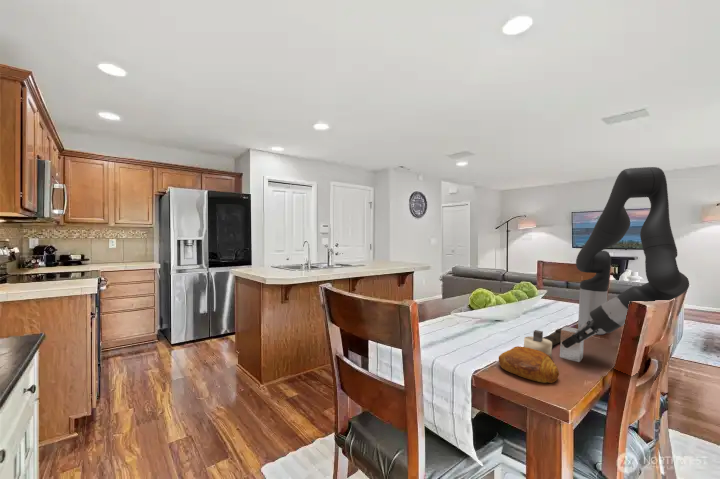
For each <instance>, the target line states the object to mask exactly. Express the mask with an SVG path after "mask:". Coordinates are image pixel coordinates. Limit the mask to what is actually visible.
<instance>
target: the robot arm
mask: <svg viewBox="0 0 720 479" xmlns="http://www.w3.org/2000/svg"><path fill="white" fill-rule="evenodd" d="M667 183H668V182H667V177H666V174H665V172H664V171H663V169H662V168H660V167H657V166H648V167H646V166H645V167H644V166H643V167H629V168H625V169H623V170H621V171H620V172H619V173H618V175H617V176H616V179H615V182H614V184H613V187H612V189H611V192H610V195H609V197H608V200H607V202H606V205H605V207H604V208H603V211H602V212H601V214H600V216H599V217H598V219H597V221H596V223H595V225H594V227H593V230H592V232H591V234H590V235H589V237H588V239H587V240H586V242H585V243H584V245H583V246H582V248H580V250H579V252H578V254H577V255H576V261H575V266H576V269H577V270H578V271H580V272H581V273H589V274H595V275H594V276H592V277H591V278H588V279H585V280H582V281H580V283H579V301H578V322H577V323H578V325H577V328H576V329H577V330H576V333H575V334H572V336H571V337H569V338H567V339H566V340H564V341H563V342H562V344H563V345H564V346H565V348H569V347H570V346H572V345H574V344H575V343H580V342H581V341H583V340H584V341H585V340H587V339H589V338H591V337H592V336H595V335H605V334H611V333H613V332H614V331H616V330H618V329H619V328H622V327H623V326H625V325H626V324H625V319H626V315H627V310H628V304H629V301H655V300H669V301H671V300H674V299H676V298H678V297H680V296H682V295H684V293H686V292H687V290H688V289H689V287H690V280H689V278H688V276H686V275H685V274H684V273H682V272H680V270H679V267H678V264H677V260H676V258H677V257H678V248H677V244H676V241H675V239H674V235H673V231H672V227H671V221H670V207H669V206H670V203H669V192H668V184H667ZM631 198H632V199H634V198H635V199H638V198H648V200H649V203H650V210H649V211H648V215H647V216H646V218H645V219H644V222H643V224H642V226H641V229H640V232H639V233H640V235H639V236H640V237H639V238H640V242H641V246H642V250H643V254H644V256H645V262H644V263H645V264H644V266H645V276H646V280H647V282H646V283H644V284H642V285H640V286H632V287H629V288H627V289H626V290H624V291H623V292H621V293H620V294H618V295H617V296H615V297H613V298H610V299H609V300H608V288H609V285H610V277H611V276H610V274H611V266H612V258H611V254H610V252H609V251H606V249H608V248H609V247H612V246H614V245H616V244H617V243H619V242H620V241H621V240H622V239H624V236H626V234H627V232H628V230H630V226H631V219H630V217H629V214H628V212H627V210H626V208H625V204H626V203H627V201H629V199H631ZM624 324H625V325H624ZM578 334H579V335H580V336H581V338H580V339H579V338H578V337H577V336H576V335H578Z"/></svg>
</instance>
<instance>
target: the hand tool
mask: <svg viewBox="0 0 720 479" xmlns="http://www.w3.org/2000/svg"><path fill="white" fill-rule="evenodd" d="M562 328H563V327H561V328H557V329H555V330H554V331H555V332H554V333H552V334H550V335H548V336H545V337H544V338H545V339H548V340H550V341H551V342H552V347H553V346H555V345H557V344H560V340H561V329H562Z"/></svg>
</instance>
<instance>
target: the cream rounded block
mask: <svg viewBox="0 0 720 479" xmlns="http://www.w3.org/2000/svg"><path fill="white" fill-rule="evenodd" d="M532 335H533V336H525V337H524V340H523V341H524V342H523V343H524V344H523V347H527V348H532V349H535V350H539V351H542V352H544V353H546V354H547V355H549V356H550V357H551V359H552V356H553V354H552V352H553V350H552V349H553V346H552V342H551V341H550V340H548V339H545V337H543V336H544V331H543V330H538V329H534V330H533V332H532Z"/></svg>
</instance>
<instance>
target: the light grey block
mask: <svg viewBox="0 0 720 479" xmlns="http://www.w3.org/2000/svg"><path fill="white" fill-rule="evenodd" d="M561 328H562V329H561V340H560V342H559V358H562V359H564V360H565V359H566V360H569V361H573V362H576V363H577V362H578V363H580V362H581V361H582V359H583V358H584V345H585V344H584V343H585V342H584V341H585V340H583V341H581V342H580V343H575V344H574V345H572V346H570V347H569V348H565V346H564V345H563V344H562V342H563V341H564V340H566V339H567V338H569V337H571V336H572V334H575V333H576V330H577V329H578V328H575V327H570V326H564V327H561ZM576 336H577V337H578V338H579V339H580V338H581V336H580V335H579V334H578V335H576Z"/></svg>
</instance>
